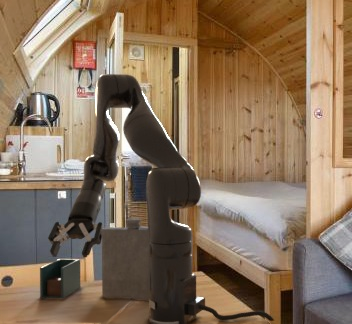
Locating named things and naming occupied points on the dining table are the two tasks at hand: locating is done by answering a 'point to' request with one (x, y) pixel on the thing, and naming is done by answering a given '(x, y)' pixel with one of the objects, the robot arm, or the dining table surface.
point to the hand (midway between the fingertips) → (68, 255)
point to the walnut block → (54, 286)
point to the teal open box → (68, 273)
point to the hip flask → (126, 261)
